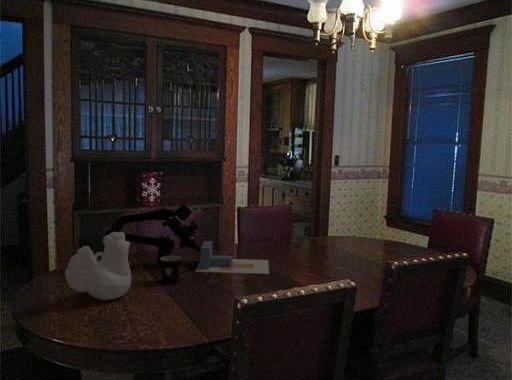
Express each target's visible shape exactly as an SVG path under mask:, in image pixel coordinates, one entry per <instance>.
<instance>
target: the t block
mask: <svg viewBox="0 0 512 380" xmlns="http://www.w3.org/2000/svg"><path fill="white" fill-rule="evenodd" d="M200 249H201V251H200V260H201V267H200V269H209V268H210V266H216V267H231V265H232V259H233V256H232V255H218V254H217V255H214V254H213V240H204V241H203V243H202V245H201V247H200Z"/></svg>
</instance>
